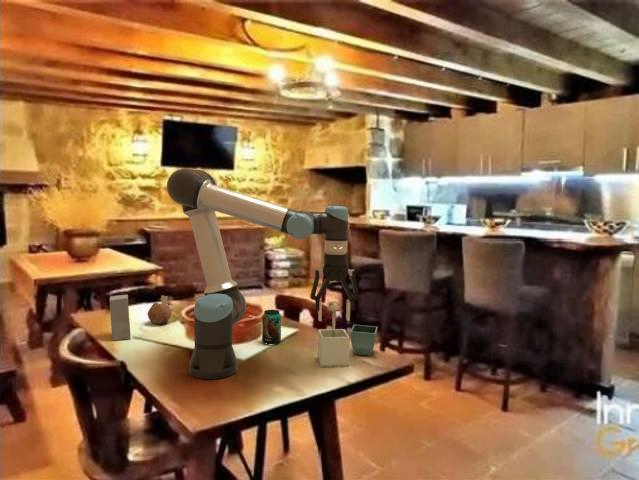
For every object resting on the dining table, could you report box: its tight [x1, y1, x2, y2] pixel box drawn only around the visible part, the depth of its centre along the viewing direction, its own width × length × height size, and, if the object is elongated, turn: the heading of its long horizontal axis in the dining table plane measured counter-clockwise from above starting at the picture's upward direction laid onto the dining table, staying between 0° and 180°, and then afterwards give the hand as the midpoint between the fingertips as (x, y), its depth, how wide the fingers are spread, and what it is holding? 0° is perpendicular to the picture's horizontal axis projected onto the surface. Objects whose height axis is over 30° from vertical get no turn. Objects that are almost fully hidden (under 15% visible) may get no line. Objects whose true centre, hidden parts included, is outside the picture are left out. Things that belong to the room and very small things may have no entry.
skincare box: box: [109, 294, 131, 342], centre depth 181 cm, size 8×7×16 cm
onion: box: [147, 302, 172, 326], centre depth 201 cm, size 10×9×10 cm
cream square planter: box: [316, 328, 351, 368], centre depth 161 cm, size 9×9×10 cm
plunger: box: [327, 300, 341, 337], centre depth 160 cm, size 7×7×18 cm
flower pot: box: [350, 324, 379, 356], centre depth 171 cm, size 9×9×9 cm
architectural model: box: [161, 295, 176, 307], centre depth 222 cm, size 3×7×7 cm, turn 42°
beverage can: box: [261, 309, 282, 345], centre depth 180 cm, size 7×7×12 cm
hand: (333, 319), depth 160 cm, fingers open, 9 cm apart
